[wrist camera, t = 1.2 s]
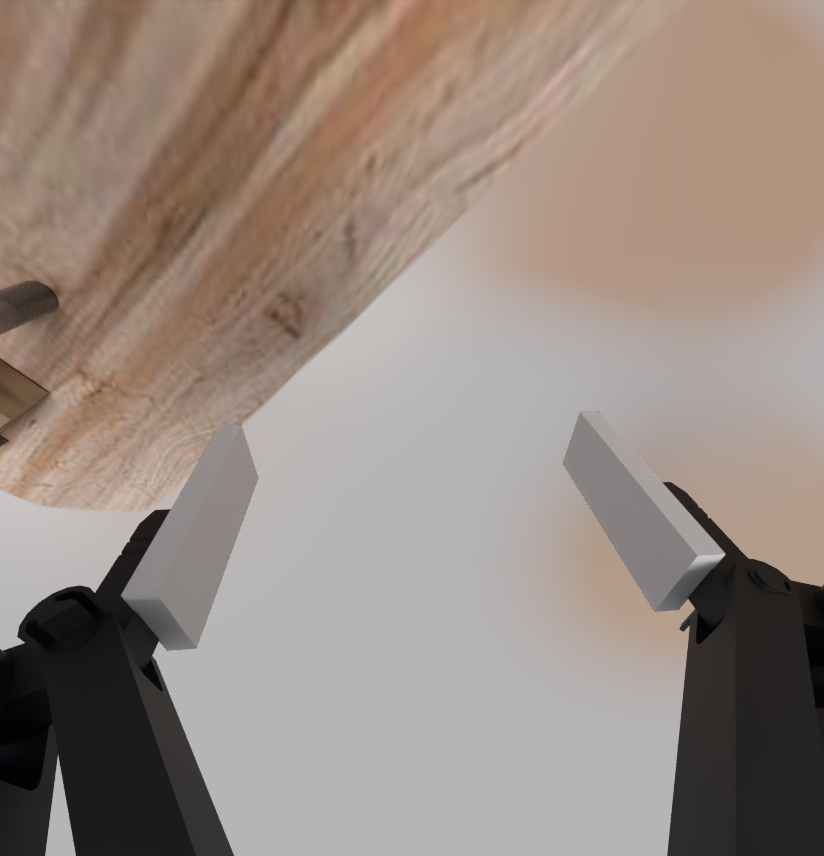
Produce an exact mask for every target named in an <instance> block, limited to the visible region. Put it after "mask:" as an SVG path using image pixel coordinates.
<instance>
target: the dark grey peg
mask: <svg viewBox="0 0 824 856" xmlns="http://www.w3.org/2000/svg"><path fill="white" fill-rule="evenodd" d="M56 308H57V300H56V297H55V295H54V294H53V293H52V292H51V290H49V289H48V288H47V287H46V286H44V285H42V284H40V283H38V282H35V281H26V282H23V283H20V284H17V285H14V286H11V287H8V288H5V289H1V290H0V335H1V334H3V333H5V332H7V331H10V330H12V329H14V328H16V327H19V326H21V325H23V324H25V323H28V322H30V321H32V320H34V319H36V318H39V317H41V316H43V315H45V314H48V313H50V312H52V311H54V310H55V309H56Z"/></svg>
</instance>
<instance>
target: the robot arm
mask: <svg viewBox="0 0 824 856" xmlns="http://www.w3.org/2000/svg"><path fill="white" fill-rule="evenodd" d="M563 465H564V466H565V468H566V470H567V471H568V473H569V475H570V476H571V478H572V479H573V481H574V483H575V484H576V486H577V488H578V489H579V491H580V492H581V494H582V495H583V497H584V498H585V500H586V502H587V504H588V505H589V507H590V509H591V510H592V512H593V513H594V515H595V517H596V518H597V520H598V521H599V523H600V525H601V526H602V528H603V530H604V531H605V533H606V534H607V536H608V538H609V539H610V541H611V543H612V544H613V546H614V547H615V549H616V550H617V552H618V554H619V555H620V557H621V559H622V560H623V562H624V564H625V565H626V567H627V568H628V570H629V572H630V573H631V575H632V576H633V578H634V580H635V581H636V583H637V585H638V586H639V588H640V589H641V591H642V593H643V594H644V596H645V597H646V599H647V601H648V602H649V604H650V606H651V607H652V609H653V610H654V612H656V611H669V610H679V609H680V607H681V606H682V605H683V604H684V603H685V602H686V600H687V599H689V600H690V602H691V603H692V605H693V606H694V607H695V610H694V611H693V612H692V613H691V614H690V615H689V616H688V618H687V619H686V620H685V621H684V622H683V623H682V625H681V627H680V630H682V631H685V629H686V628H687V627H688V626H690V631H689V642H688V651H687V662H686V671H685V681H684V692H683V702H682V712H681V723H680V732H679V742H678V752H677V763H676V773H675V783H674V793H673V804H672V813H671V823H670V834H669V844H668V854H667V856H824V585H823V586H822V587H819V586H815V585H810V584H805V583H800V582H796V581H791V580H790V579H789V578H788V577H786V575H784V574H783V573H782V572H780V571H779V570H778V569H776V568H774V567H772V566H770V565H768V564H767V563H765V562H761V561H758V560H755V559H748V558H747V557H746V556H745V555H744V554H743V553H742V552H741V551H740V550H739V548H738V547H737V546H736V545H735V544H734V543H733V542H732V541H731V540H730V539H729V538H728V537H727V536H726V535H725V533H724V532H723V531H722V530H721V529H720V528H719V527H718V526H717V525H716V524H715V523H714V522H713V521H712V520H711V518H708V515H707V514H706V513H705V512H704V511H703V510H702V509H701V508H699V507H698V505H697V503H695V501H694V500H693V499H692V498H691V497H690V496H689V495H688V494H687V493H686V492H685V491H683V490H682V489H680V488H678V487H677V486H676V485H674V484H673V483H671V482H661V481H660V480H659V478H658V477H657V476H656V475H655V474H654V473H653V472H652V470H651V469H650V468H649V467H648V466H647V465H646V464H645V463H644V461H643V460H642V459H641V458H640V457H639V456H638V455H637V454H636V452H635V451H634V450H633V449H632V448H631V447H630V446H629V445H628V443H627V442H626V441H625V440H624V439H623V438H622V437H621V436H620V435H619V433H618V432H617V431H616V430H615V429H614V428H613V427H612V425H610V423H609V422H608V421H607V420H606V419H605V418H604V416H603V415H602V414H601V413H600V412H599V411H583V412H580V413H579V416H578V419H577V422H576V425H575V429H574V431H573V434H572V437H571V440H570V443H569V446H568V449H567V452H566V455H565V458H564V461H563ZM257 480H258V475H257V472H256V469H255V466H254V463H253V460H252V457H251V454H250V450H249V447H248V445H247V441H246V438H245V435H244V432H243V429H242V426H241V424H233V425H220V426H219V427H218V429H217V431H216V432H215V434H214V436H213V438H212V439H211V441H210V443H209V444H208V446H207V448H206V450H205V451H204V453H203V455H202V457H201V458H200V460H199V462H198V463H197V465H196V467H195V469H194V470H193V472H192V474H191V475H190V477H189V479H188V481H187V482H186V484H185V486H184V488H183V489H182V491H181V493H180V495H179V497H178V498H177V500H176V501H175V503H174V505H173V507H172V508H171V509H168V510H155V511H154V512H152V513H151V514H150V515H149V516H148V517H147V518H146V519H145V520H143V521H142V522H141V523H140V524H139V526H138V527H137V529H136V530H135V532H134V533H133V535H132V536H131V538H130V542H128V543H127V544H126V546H125V547H124V549H123V550H122V554H121V555H119V557H118V558H117V560H116V561H115V563H114V564H113V566H112V567H111V569H110V571H109V572H108V574H107V575H106V577H105V579H104V580H103V581H102V583H101V585H100V586H99V588H98V589H97V591H96V593H94V592H93V591H92V590H91V589H90V588H89V587H84V586H74V587H68V588H65V589H63V590H61V591H58V592H56V593H53V594H52V595H50V596H48V597H47V598H46V599H44V600H42V601H41V602H39V603H38V604H37V605H36V606H35V607H34V608H33V609H32V610H31V611H30V612H29V613H28V614H27V615H26V617H25V618H24V620H23V621H22V623H21V624H20V626H19V631H18V636H17V637H19V638H20V639H21V640H22V641H24V642H25V643H24V644H21V645H18V646H15V647H13V648H9V649H7V650H4V651H2V650H1V649H0V856H45V852H46V844H47V836H48V828H49V820H50V812H51V805H52V797H53V789H54V781H55V773H56V765H57V757H58V755H59V761H60V767H61V772H62V778H63V784H64V789H65V795H66V800H67V807H68V812H69V818H70V824H71V829H72V835H73V841H74V846H75V852H76V856H234V855H233V852H232V850H231V847H230V845H229V842H228V840H227V837H226V835H225V832H224V830H223V827H222V825H221V822H220V820H219V817H218V815H217V812H216V810H215V807H214V805H213V802H212V800H211V797H210V795H209V792H208V790H207V787H206V785H205V782H204V780H203V777H202V775H201V772H200V770H199V767H198V765H197V762H196V760H195V757H194V755H193V752H192V750H191V747H190V745H189V742H188V740H187V737H186V735H185V732H184V730H183V727H182V725H181V722H180V720H179V717H178V715H177V712H176V710H175V707H174V705H173V702H172V700H171V697H170V695H169V692H168V690H167V687H166V685H165V682H164V680H163V677H162V675H161V672H160V670H159V667H158V665H157V662H156V660H155V659H154V658H153V657H152V654H153V653H154V650H155V648H156V646H157V644H158V641H159V642H160V643H161V644H162V645H163V646H164V648H165V649H166V650H167V651H169V650H182V649H194V648H197V645H198V643H199V640H200V637H201V634H202V632H203V629H204V626H205V624H206V621H207V618H208V615H209V613H210V610H211V607H212V604H213V602H214V599H215V596H216V593H217V590H218V588H219V585H220V582H221V580H222V577H223V574H224V571H225V568H226V566H227V563H228V560H229V557H230V554H231V552H232V549H233V547H234V544H235V541H236V538H237V536H238V533H239V530H240V527H241V525H242V522H243V519H244V516H245V514H246V511H247V508H248V505H249V502H250V500H251V497H252V494H253V491H254V489H255V486H256V483H257Z"/></svg>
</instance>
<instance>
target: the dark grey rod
mask: <svg viewBox="0 0 824 856" xmlns="http://www.w3.org/2000/svg"><path fill="white" fill-rule="evenodd" d="M6 442H7V441H6V440H4V439H2V438H1V437H0V447H1V446H2V445H3V444H5V443H6Z"/></svg>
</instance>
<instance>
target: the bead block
mask: <svg viewBox="0 0 824 856" xmlns="http://www.w3.org/2000/svg"><path fill="white" fill-rule="evenodd" d="M47 394H48V392H46V391H45V390H43V389H42V388H40V387H39V386H37V385H36V384H34V383H33V382H32V381H30V380H29V379H27V378H26V377H24V376H23V375H21V374H20V373H18V372H17V371H15V370H14V369H13V368H11V367H10V366H8V365H7V364H5V363H4V362H2V361H1V360H0V432H2V431H3V430H5V429H6V428H7V427H8V426H10V425H11V424H12V423H13V422H14V421H16V420H17V419H18V418H19V417H20V416H22V415H23V414H24V413H25V412H26V411H28V410H29V409H30V408H31V407H33V406H34V405H35V404H36V403H37V402H39V401H40V400H41V399H42V398H43V397H45V396H46V395H47Z"/></svg>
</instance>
